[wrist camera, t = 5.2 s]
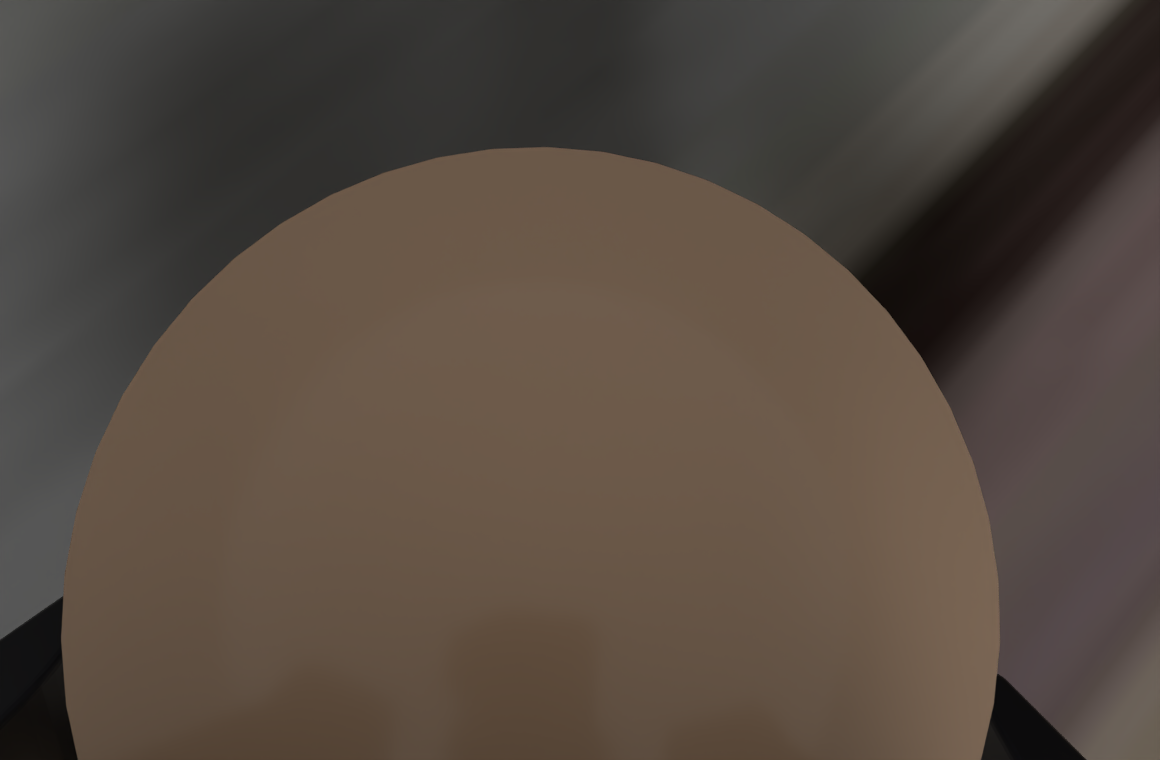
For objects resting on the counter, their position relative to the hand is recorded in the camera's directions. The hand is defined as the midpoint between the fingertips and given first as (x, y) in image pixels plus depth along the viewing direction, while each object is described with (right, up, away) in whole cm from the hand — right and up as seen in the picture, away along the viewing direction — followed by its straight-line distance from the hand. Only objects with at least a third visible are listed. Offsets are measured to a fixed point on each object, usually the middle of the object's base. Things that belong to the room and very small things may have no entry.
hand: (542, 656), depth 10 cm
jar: (0, -1, +8) cm, 9 cm away
